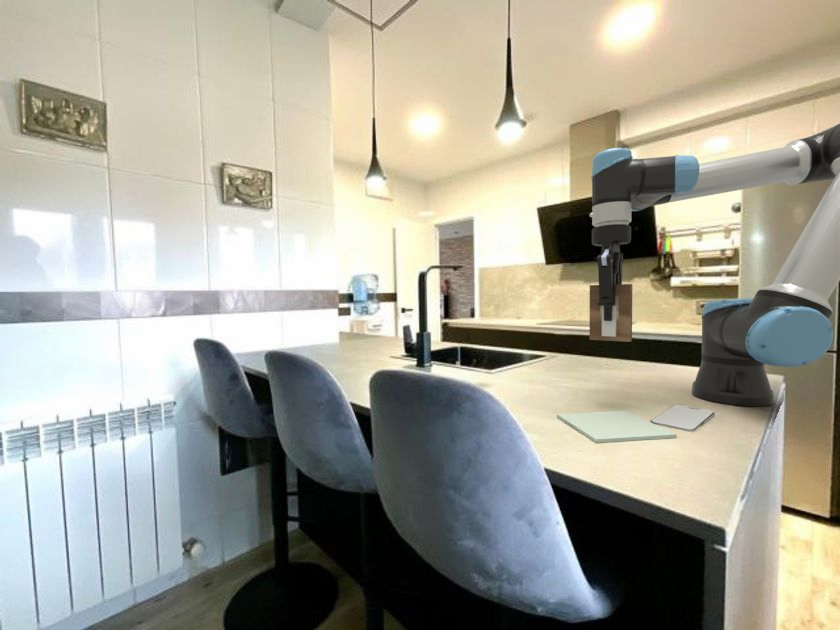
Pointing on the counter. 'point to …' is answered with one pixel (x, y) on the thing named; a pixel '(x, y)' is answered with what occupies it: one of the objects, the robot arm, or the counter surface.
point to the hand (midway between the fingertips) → (610, 335)
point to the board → (622, 314)
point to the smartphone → (683, 418)
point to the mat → (614, 426)
